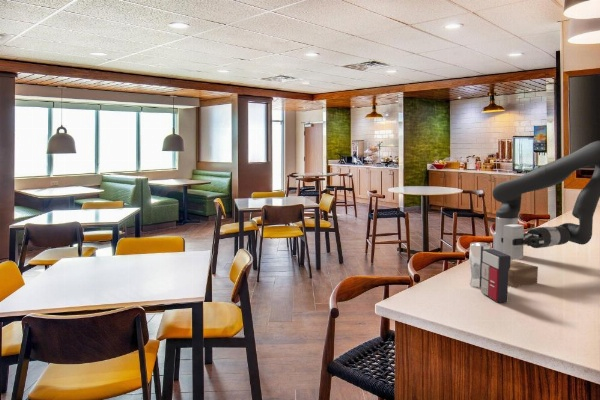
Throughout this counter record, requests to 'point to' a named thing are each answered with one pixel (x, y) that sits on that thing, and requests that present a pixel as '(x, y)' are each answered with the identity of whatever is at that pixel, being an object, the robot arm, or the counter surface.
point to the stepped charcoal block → (495, 274)
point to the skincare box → (510, 234)
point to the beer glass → (476, 262)
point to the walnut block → (522, 274)
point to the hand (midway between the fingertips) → (507, 241)
